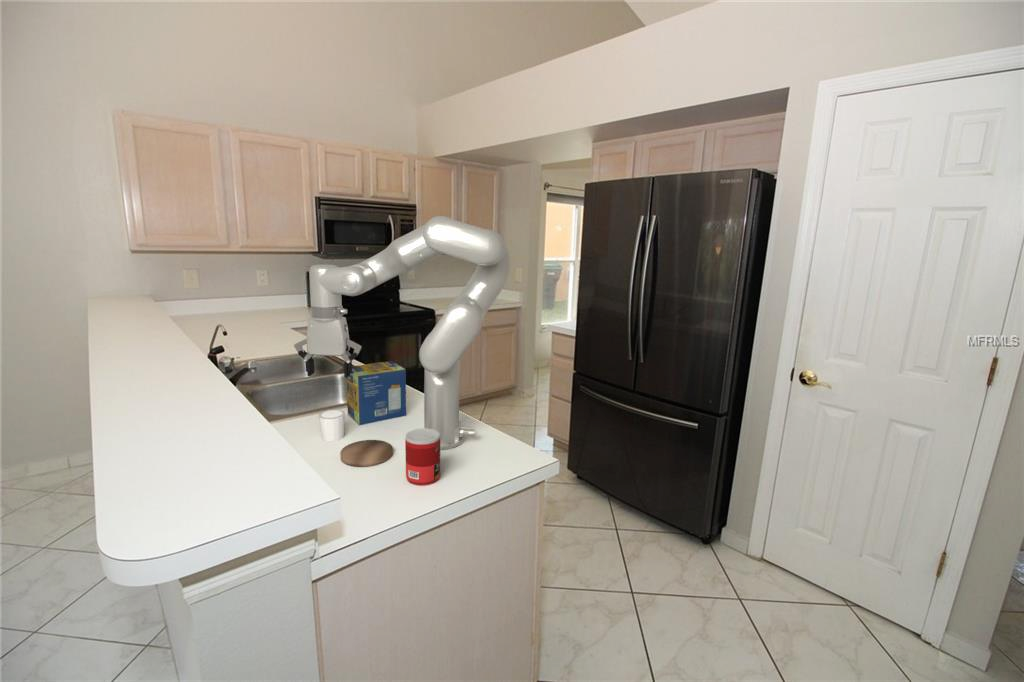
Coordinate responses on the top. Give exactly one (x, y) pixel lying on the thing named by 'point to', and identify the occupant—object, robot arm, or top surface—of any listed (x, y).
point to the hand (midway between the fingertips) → (329, 375)
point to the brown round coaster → (366, 453)
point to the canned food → (422, 456)
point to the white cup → (332, 425)
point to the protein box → (376, 392)
